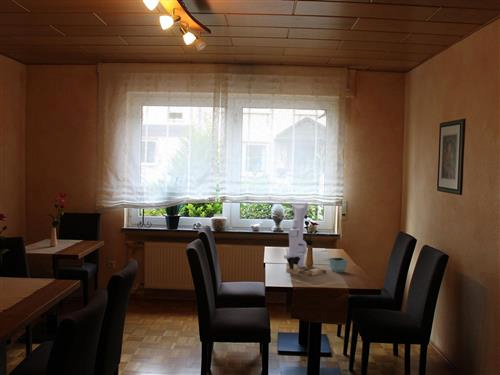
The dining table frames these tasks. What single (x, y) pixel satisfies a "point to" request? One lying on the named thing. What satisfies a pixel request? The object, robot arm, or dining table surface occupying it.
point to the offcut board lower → (317, 273)
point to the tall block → (293, 269)
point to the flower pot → (338, 264)
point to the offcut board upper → (315, 270)
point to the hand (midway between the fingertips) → (293, 269)
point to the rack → (305, 271)
